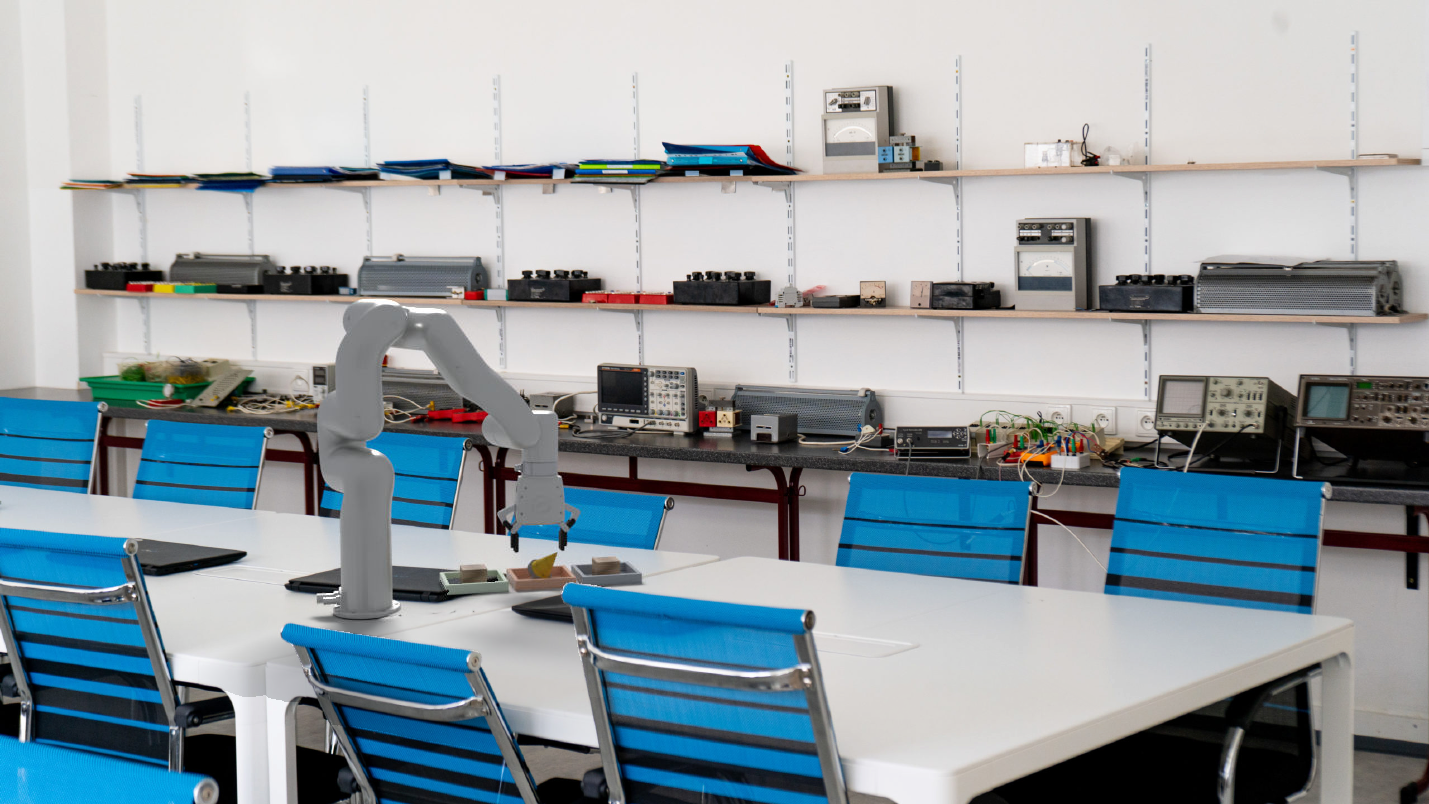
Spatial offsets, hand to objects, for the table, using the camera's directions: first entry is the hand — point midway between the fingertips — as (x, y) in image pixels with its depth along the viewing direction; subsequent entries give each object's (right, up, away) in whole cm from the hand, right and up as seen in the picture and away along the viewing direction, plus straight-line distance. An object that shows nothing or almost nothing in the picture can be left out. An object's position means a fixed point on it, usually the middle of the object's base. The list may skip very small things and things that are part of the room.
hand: (538, 550), depth 277 cm
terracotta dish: (0, -7, +1) cm, 7 cm away
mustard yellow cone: (+1, -7, +1) cm, 7 cm away
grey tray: (+14, -7, +5) cm, 16 cm away
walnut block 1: (-13, -7, -3) cm, 15 cm away
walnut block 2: (+14, -6, +5) cm, 16 cm away
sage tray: (-13, -8, -3) cm, 15 cm away
